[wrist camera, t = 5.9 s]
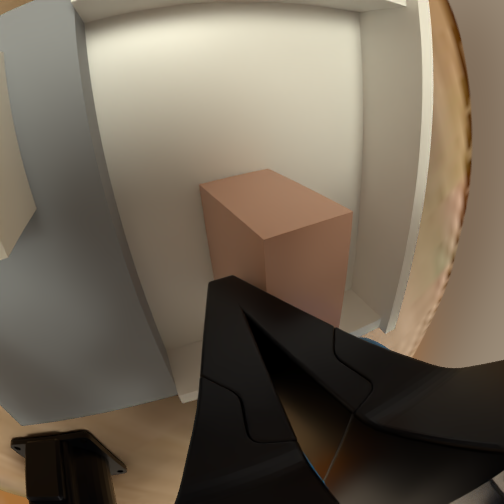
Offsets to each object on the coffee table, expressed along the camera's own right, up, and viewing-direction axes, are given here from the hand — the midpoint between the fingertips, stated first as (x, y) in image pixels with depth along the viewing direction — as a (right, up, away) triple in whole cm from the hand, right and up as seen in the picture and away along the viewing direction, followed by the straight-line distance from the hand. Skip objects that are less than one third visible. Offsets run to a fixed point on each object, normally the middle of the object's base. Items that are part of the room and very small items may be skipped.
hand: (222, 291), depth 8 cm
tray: (+1, +4, +3) cm, 5 cm away
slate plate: (-7, +1, +1) cm, 7 cm away
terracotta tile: (0, 0, +1) cm, 1 cm away
